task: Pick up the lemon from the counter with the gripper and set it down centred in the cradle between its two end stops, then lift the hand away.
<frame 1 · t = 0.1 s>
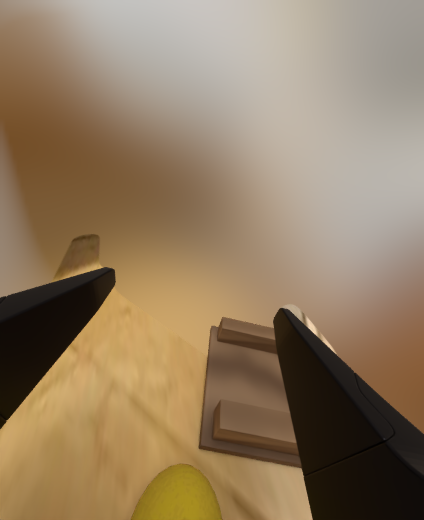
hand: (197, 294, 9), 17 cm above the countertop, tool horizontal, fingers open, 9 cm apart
cradle: (254, 382, 21), on the countertop
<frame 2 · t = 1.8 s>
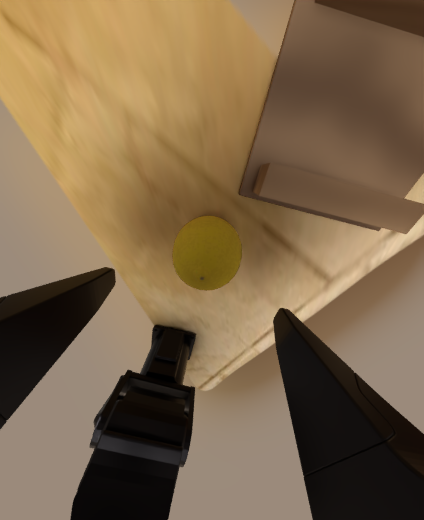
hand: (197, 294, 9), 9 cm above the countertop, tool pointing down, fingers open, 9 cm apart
cradle: (349, 124, 12), on the countertop
lemon: (212, 234, 17), on the countertop
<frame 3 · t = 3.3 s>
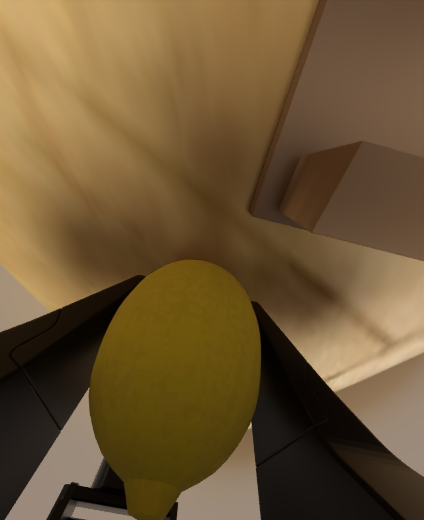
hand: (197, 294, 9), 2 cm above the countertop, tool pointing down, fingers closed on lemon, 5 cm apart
lemon: (202, 275, 10), on the countertop, touching gripper
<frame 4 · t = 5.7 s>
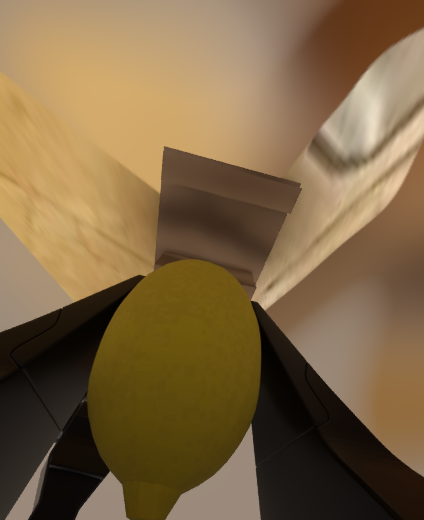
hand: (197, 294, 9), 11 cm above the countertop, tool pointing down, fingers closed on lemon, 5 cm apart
cradle: (217, 229, 19), on the countertop
lemon: (201, 275, 10), point 10 cm above the countertop, touching gripper
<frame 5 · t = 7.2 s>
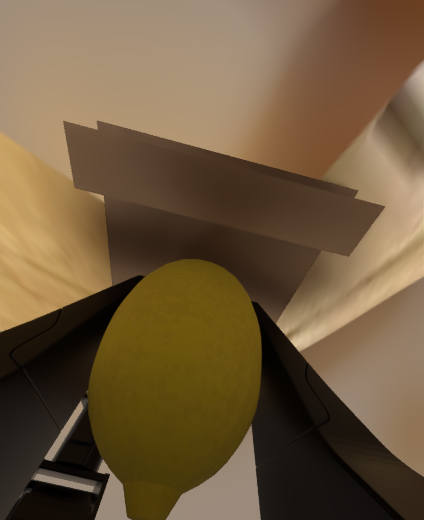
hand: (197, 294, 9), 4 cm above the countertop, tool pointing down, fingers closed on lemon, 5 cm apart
cradle: (206, 261, 12), on the countertop
lemon: (202, 275, 10), point 2 cm above the countertop, touching gripper
when the fingers open (3 cm above the countertop, at t = 8.0 s): lemon stays where it is, resting on cradle.
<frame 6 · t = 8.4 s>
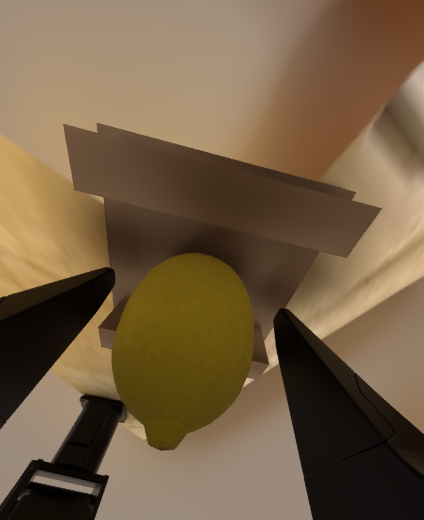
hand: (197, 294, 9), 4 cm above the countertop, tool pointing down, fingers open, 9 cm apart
cradle: (205, 262, 12), on the countertop
lemon: (202, 268, 11), point 1 cm above the countertop, touching cradle
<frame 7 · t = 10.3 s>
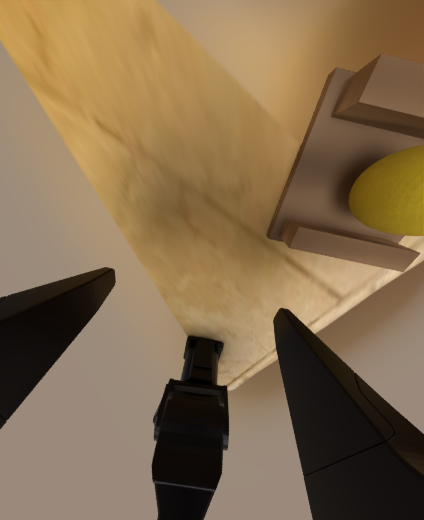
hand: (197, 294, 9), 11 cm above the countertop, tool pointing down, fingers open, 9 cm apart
cradle: (356, 186, 15), on the countertop
lemon: (361, 188, 15), point 1 cm above the countertop, touching cradle
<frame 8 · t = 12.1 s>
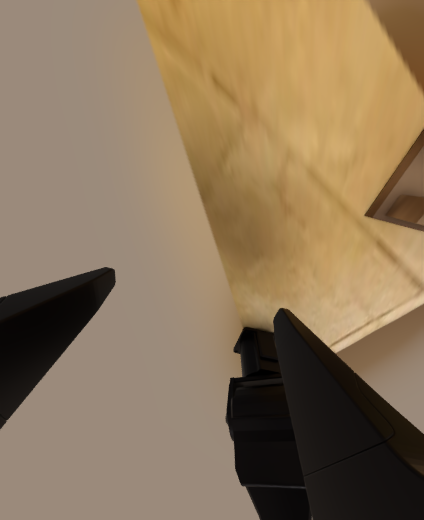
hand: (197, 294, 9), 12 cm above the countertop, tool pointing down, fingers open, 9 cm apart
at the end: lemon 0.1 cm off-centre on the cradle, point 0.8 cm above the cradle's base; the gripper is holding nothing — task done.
